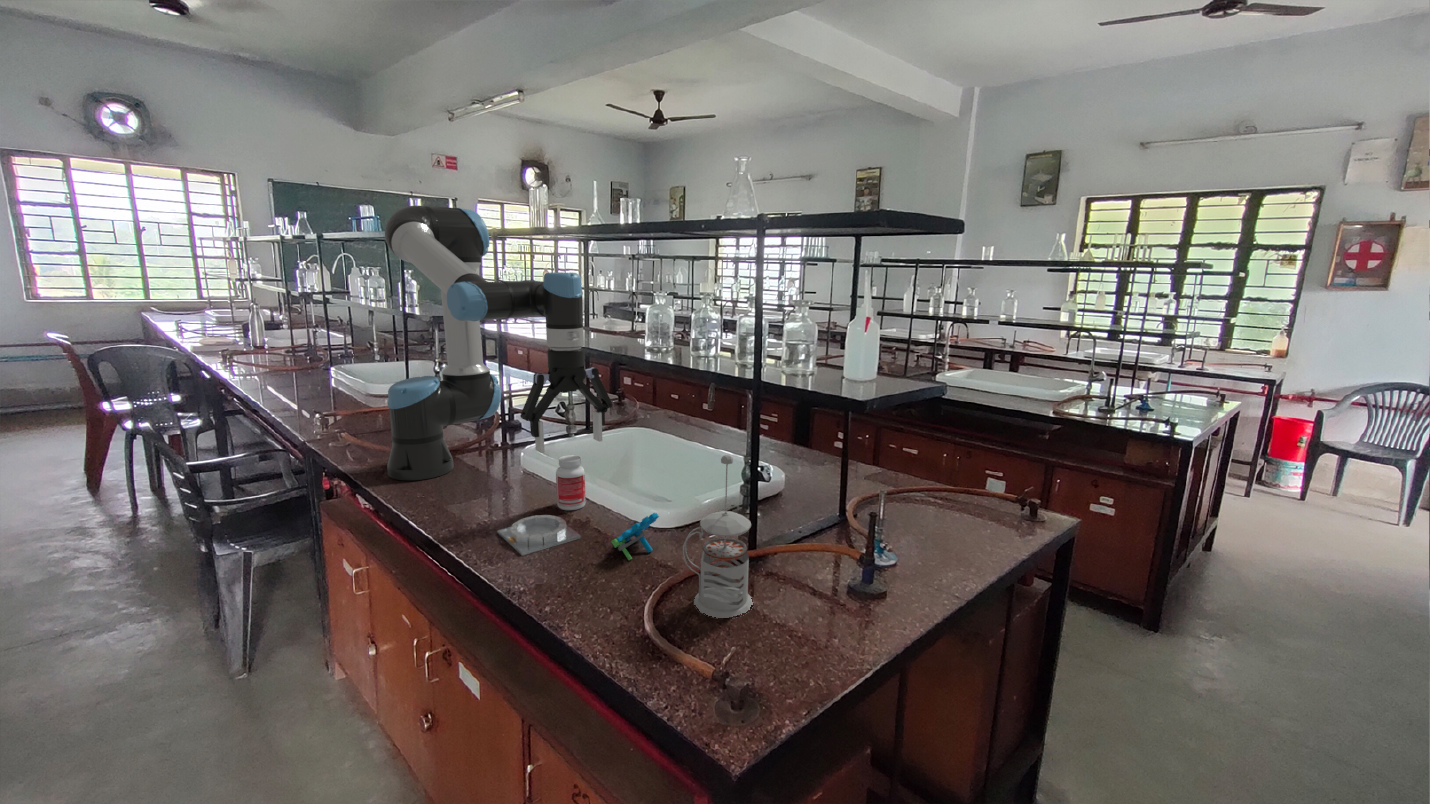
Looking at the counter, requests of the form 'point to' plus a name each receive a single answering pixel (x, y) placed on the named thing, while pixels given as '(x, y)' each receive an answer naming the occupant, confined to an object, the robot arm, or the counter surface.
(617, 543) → the blue knobbed piece
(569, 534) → the duct flange
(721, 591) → the french press
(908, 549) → the counter surface
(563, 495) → the pill bottle
